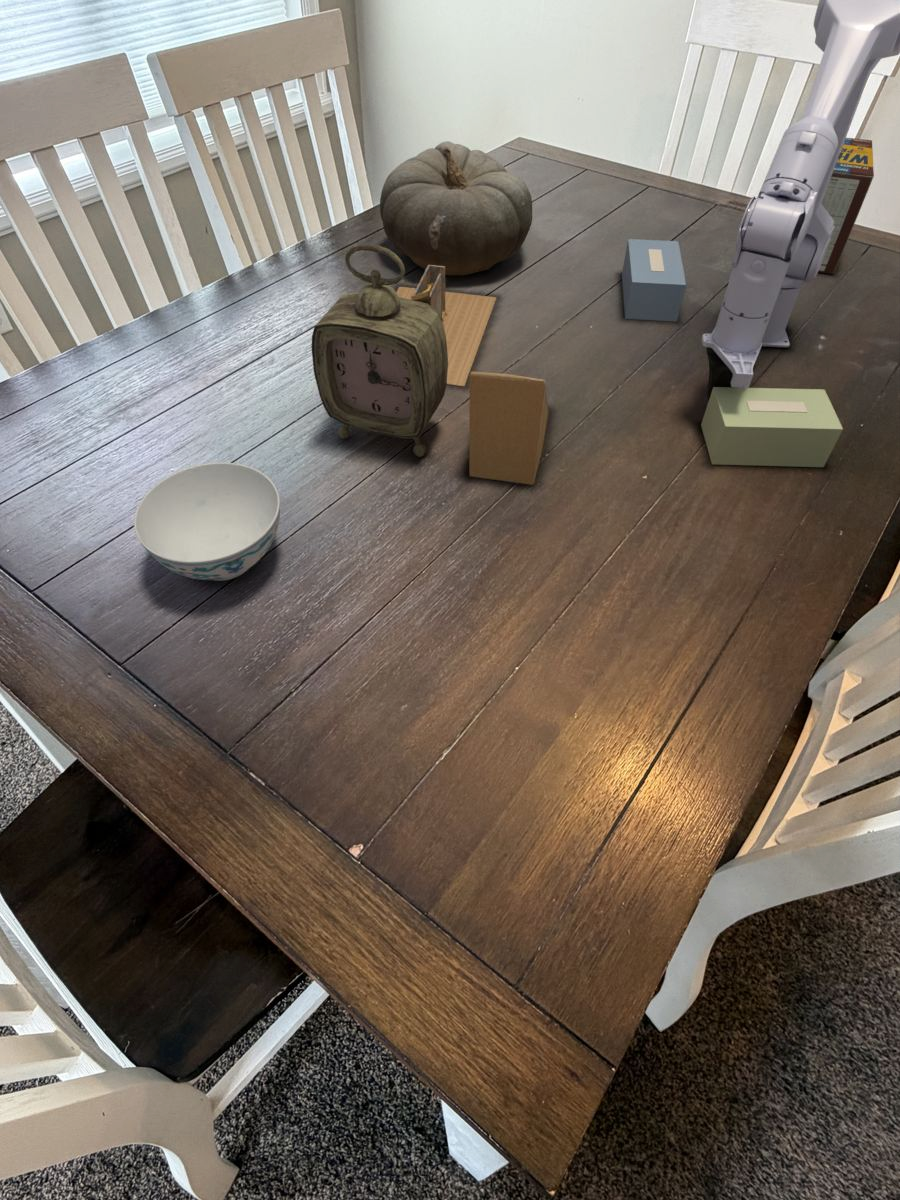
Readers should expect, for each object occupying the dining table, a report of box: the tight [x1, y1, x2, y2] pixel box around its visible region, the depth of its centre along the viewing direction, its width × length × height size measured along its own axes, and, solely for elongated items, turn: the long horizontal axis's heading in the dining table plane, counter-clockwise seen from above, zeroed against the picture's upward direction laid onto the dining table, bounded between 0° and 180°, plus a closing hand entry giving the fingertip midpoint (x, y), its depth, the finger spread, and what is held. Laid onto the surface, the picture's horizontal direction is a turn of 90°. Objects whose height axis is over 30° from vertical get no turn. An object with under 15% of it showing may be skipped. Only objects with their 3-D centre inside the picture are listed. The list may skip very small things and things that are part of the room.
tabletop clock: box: [311, 243, 448, 458], centre depth 87 cm, size 14×9×25 cm, turn 70°
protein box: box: [818, 137, 875, 275], centre depth 122 cm, size 10×15×16 cm
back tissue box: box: [621, 238, 687, 323], centre depth 116 cm, size 14×8×6 cm, turn 174°
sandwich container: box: [468, 371, 550, 486], centre depth 90 cm, size 9×15×15 cm, turn 168°
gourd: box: [379, 140, 533, 277], centre depth 121 cm, size 25×25×17 cm
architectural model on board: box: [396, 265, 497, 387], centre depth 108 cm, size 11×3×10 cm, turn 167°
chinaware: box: [133, 462, 281, 582], centre depth 80 cm, size 15×15×8 cm
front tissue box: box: [700, 387, 844, 468], centre depth 92 cm, size 8×14×6 cm, turn 87°
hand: (715, 402), depth 97 cm, fingers closed
